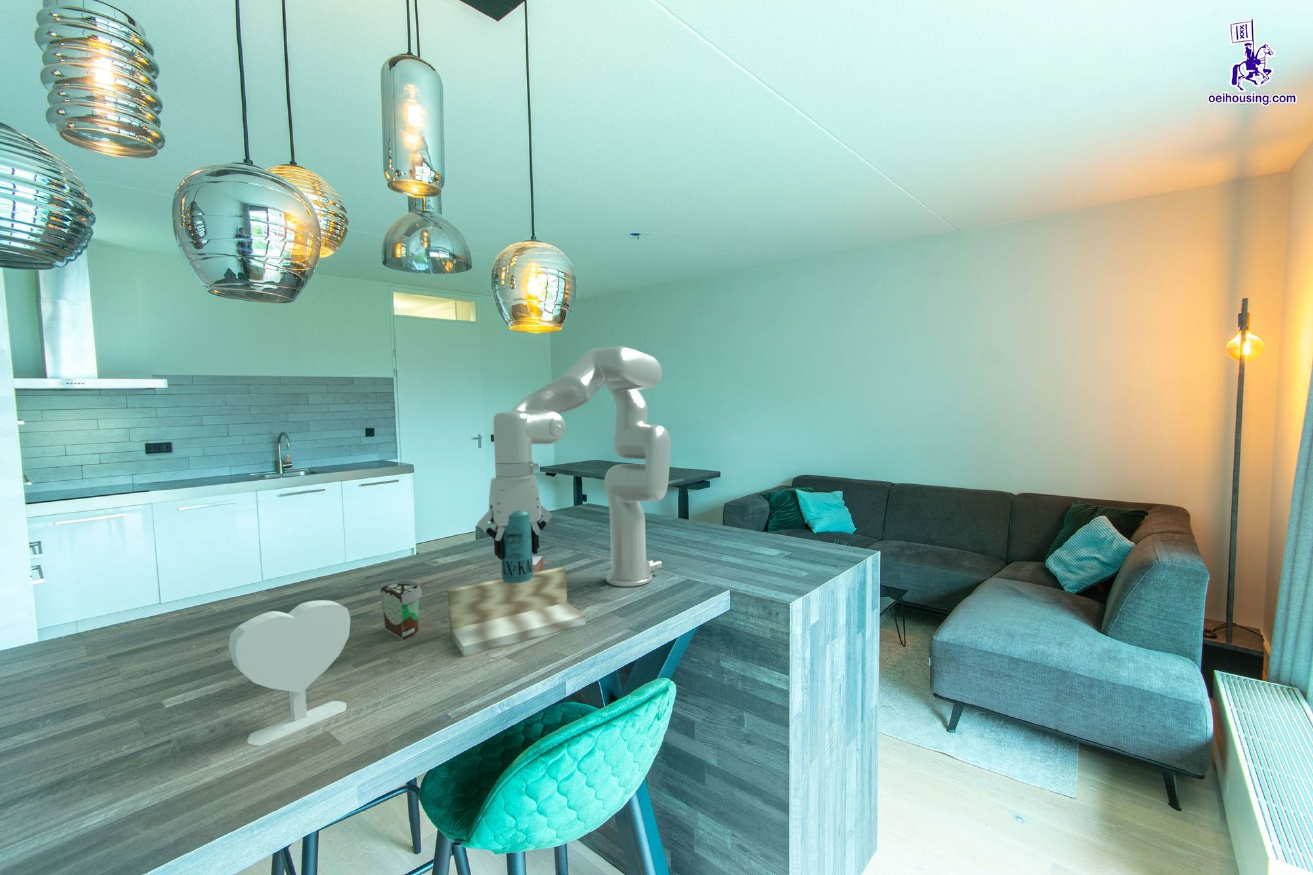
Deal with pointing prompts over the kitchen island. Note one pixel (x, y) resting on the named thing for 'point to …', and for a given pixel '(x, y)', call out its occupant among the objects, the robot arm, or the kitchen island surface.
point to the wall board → (510, 611)
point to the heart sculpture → (291, 658)
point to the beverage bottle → (517, 549)
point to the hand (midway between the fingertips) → (517, 554)
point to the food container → (401, 607)
